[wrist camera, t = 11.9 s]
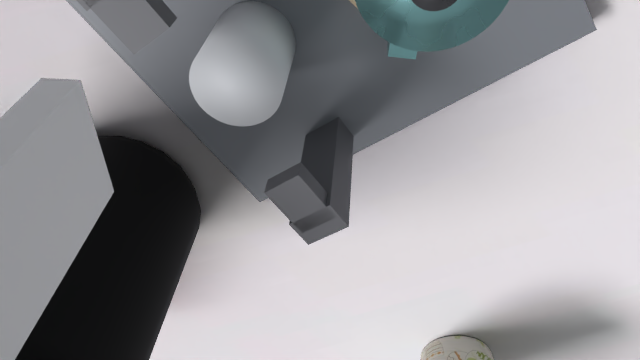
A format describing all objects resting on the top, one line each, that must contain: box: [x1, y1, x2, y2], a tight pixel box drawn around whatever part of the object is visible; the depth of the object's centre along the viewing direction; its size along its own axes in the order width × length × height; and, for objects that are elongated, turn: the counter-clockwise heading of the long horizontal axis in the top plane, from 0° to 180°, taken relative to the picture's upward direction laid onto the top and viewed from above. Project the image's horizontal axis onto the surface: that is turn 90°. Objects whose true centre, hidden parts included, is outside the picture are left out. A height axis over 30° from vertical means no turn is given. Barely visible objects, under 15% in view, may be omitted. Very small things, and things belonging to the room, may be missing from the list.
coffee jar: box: [15, 136, 201, 360], centre depth 30 cm, size 11×11×18 cm
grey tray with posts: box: [66, 0, 597, 245], centre depth 24 cm, size 18×22×9 cm
